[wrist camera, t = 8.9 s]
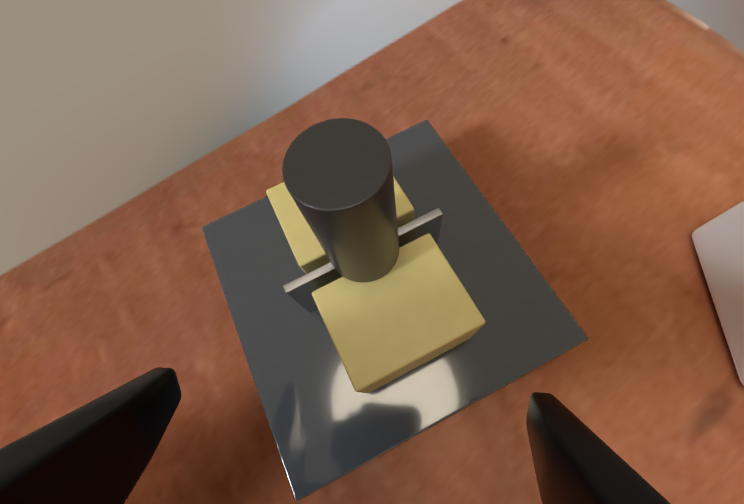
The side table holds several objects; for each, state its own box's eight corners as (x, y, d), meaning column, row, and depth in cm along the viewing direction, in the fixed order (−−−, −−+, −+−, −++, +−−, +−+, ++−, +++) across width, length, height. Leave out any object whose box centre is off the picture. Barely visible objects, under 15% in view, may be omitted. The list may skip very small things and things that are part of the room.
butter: (472, 337, 14) (486, 322, 11) (367, 394, 14) (355, 393, 11) (377, 181, 17) (370, 139, 14) (289, 224, 17) (264, 189, 14)
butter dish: (560, 348, 16) (590, 338, 14) (316, 484, 15) (295, 503, 13) (425, 155, 21) (427, 118, 18) (230, 250, 20) (200, 226, 17)
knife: (451, 267, 15) (488, 141, 8) (319, 335, 15) (223, 270, 7) (422, 221, 16) (430, 70, 9) (297, 284, 15) (191, 180, 8)
